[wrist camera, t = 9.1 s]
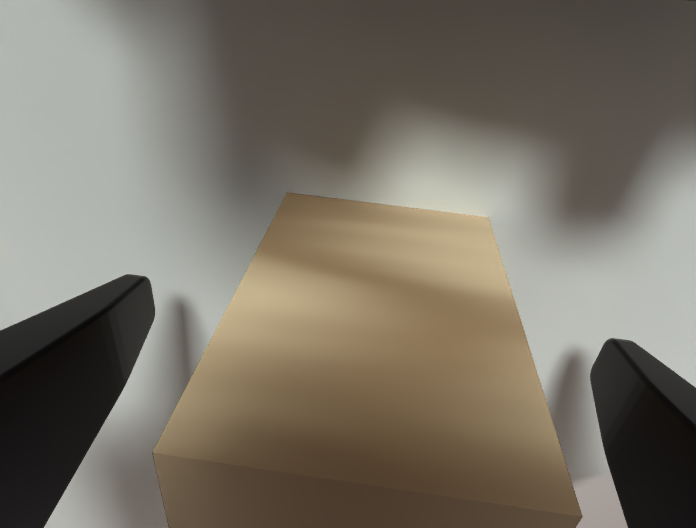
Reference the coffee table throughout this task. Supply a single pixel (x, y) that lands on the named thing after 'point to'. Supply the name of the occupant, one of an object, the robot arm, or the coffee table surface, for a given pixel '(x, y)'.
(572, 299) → the coffee table surface
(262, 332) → the block
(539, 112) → the coffee table surface
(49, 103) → the coffee table surface
